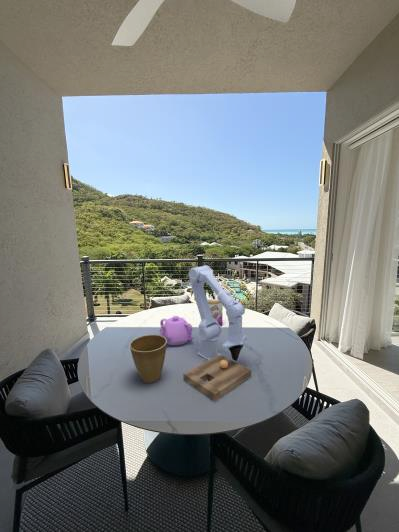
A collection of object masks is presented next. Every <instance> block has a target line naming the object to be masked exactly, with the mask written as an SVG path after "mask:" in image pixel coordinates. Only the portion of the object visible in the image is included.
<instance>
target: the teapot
mask: <svg viewBox="0 0 399 532" xmlns="http://www.w3.org/2000/svg"><path fill="white" fill-rule="evenodd" d="M159 323H160V329H159V333H160V336H163V337H165V338H166V340H167V345H169V346H183V345H184V344H187V343H188V342H189V341H194V335H193V326H192V325H191V323H188V322H187V320H186V319H185V318H183V317H179V316H178V315H173V316H172V317H169V318H162V319H161V320H160V322H159Z"/></svg>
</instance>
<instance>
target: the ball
mask: <svg viewBox="0 0 399 532" xmlns="http://www.w3.org/2000/svg"><path fill="white" fill-rule="evenodd" d="M220 366H221V368H223V369H225V368H227V367H228V362H227V361H226V360H222V361H221V362H220Z"/></svg>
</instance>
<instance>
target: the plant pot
mask: <svg viewBox="0 0 399 532" xmlns="http://www.w3.org/2000/svg"><path fill="white" fill-rule="evenodd" d="M160 335H161V334H160ZM160 335H159V334H147V335H141V336H139V337H136V338H135V339H133V340H131V342H130V343H129V349H130V352H131V356H132V360H133V363H134V366H135V368H136V370H137V372H138V374H139V376H140V378H141V380H142V382H144V383H147V384H151V383H155V382H157V381H158V380H159V379H160V377H161V374H162V371H163V368H164V363H165V358H166V351H167V345H168V344H167V340H166V338H165V337H163V336H160Z"/></svg>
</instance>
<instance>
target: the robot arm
mask: <svg viewBox="0 0 399 532" xmlns="http://www.w3.org/2000/svg"><path fill="white" fill-rule="evenodd" d="M188 278H189V281H190V285H191V290H192V292H193V296H194V299H195V303H196V305H197V310H198V313H199V316H200V317H199V318H200V319H201V321H200V322H199V325H198V332H199V333H198V334H199V339H198V341H197V342H198V351H197V355H198V356H200V357H202V358H204V359H205V360H206V361H208V360H210V359H212V358H214V357H215V356H217V355H219V354H220V355H222V354H221V353H220V352H219V337H220V335H221V333H222V326H220V325H219V324H218V322H217V320H216V319H214V318H213V317H212V315H211V311H210V308H209V305H208V301H207V295H206V292H205V289H204V285H205V283H206V284H207V285H208V286H209V288H211V289H212V290H213V291H214V293H215V294H216V295H217V297H216V298H217V299H218V300H219V301H220V302H221V304H222V305H223V308H224V309H225V314H226V316H227V321H228V339H227V340H226V342H224V343H223V344H222V350H223V351H228V350H229V352H230V355H231V358H232V359H231V360H232V361H234V362H236V361H238V359H239V357H240V353H241V351H242V350H243V347H244V341H247V340H248V335H246V334H243V315H245V312H246V308H245V306H244V304H243V303H241V302H240V301H238V300H236V299H235V298H234V296H233V295H232V294H231V292H230V291H229V290H226V289H223V286H221V284H220V283H219V281H218V279H217V278H216V277H215V275H214V271H213V269H212V268H211V267H210V266H209V265H206V264H205V265H202V266H198V267H191V268H190V270H189V272H188ZM209 324H210V325H209ZM207 325H208V326H207ZM222 356H223V355H222Z"/></svg>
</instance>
